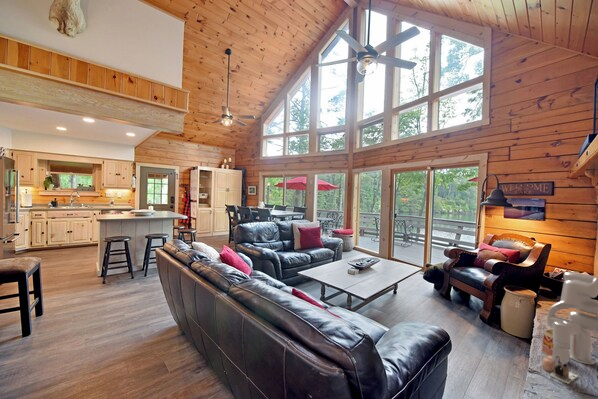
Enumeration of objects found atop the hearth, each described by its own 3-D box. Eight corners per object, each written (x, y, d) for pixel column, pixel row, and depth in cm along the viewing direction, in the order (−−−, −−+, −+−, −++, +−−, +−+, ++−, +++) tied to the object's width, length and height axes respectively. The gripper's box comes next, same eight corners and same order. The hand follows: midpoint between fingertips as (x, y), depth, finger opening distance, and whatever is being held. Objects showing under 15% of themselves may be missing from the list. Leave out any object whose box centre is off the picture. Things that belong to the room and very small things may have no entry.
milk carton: (552, 351, 179) (552, 323, 179) (566, 359, 170) (566, 330, 170) (539, 351, 179) (540, 323, 179) (553, 359, 170) (553, 330, 170)
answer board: (559, 369, 160) (559, 367, 160) (577, 377, 153) (577, 375, 153) (549, 375, 154) (549, 373, 154) (568, 384, 146) (568, 382, 146)
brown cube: (568, 376, 150) (568, 368, 150) (565, 378, 148) (565, 370, 148) (557, 371, 155) (557, 363, 155) (553, 373, 153) (553, 365, 153)
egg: (544, 366, 162) (544, 357, 162) (555, 371, 158) (555, 361, 158) (541, 368, 160) (541, 359, 160) (551, 373, 156) (551, 363, 156)
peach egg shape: (549, 363, 165) (549, 354, 165) (559, 368, 161) (559, 358, 161) (545, 365, 163) (545, 356, 163) (556, 370, 159) (556, 360, 159)
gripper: (559, 337, 159) (558, 365, 159) (546, 343, 151) (546, 373, 151) (576, 343, 152) (575, 373, 152) (564, 350, 145) (563, 381, 144)
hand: (561, 372), depth 152 cm, fingers open, 5 cm apart
